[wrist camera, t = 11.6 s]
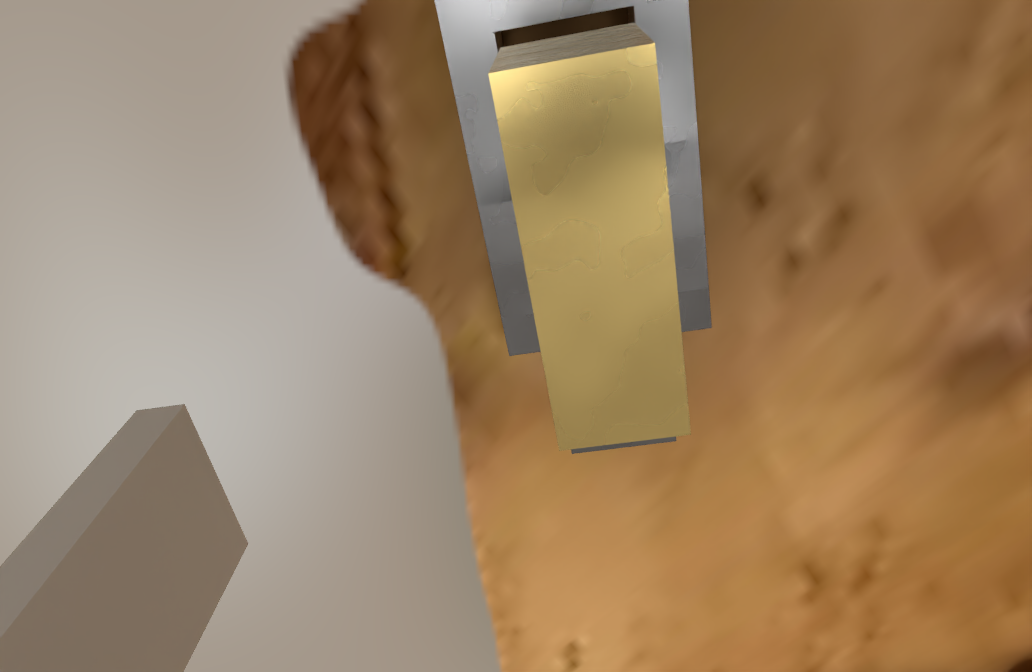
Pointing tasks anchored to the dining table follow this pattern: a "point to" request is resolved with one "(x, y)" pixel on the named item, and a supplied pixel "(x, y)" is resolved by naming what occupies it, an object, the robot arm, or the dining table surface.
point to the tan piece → (595, 231)
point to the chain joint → (470, 55)
